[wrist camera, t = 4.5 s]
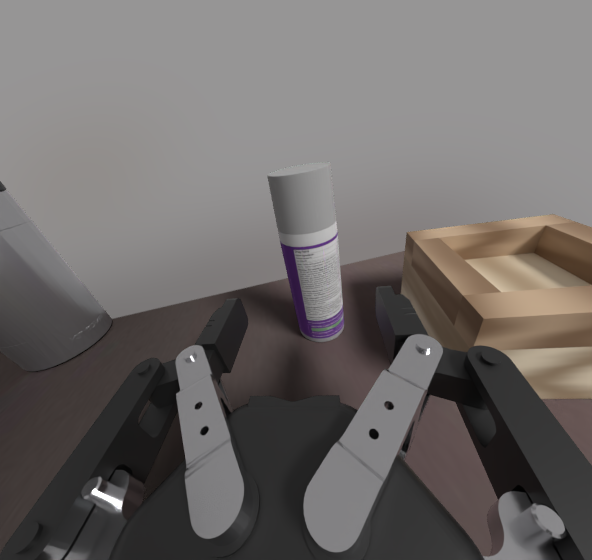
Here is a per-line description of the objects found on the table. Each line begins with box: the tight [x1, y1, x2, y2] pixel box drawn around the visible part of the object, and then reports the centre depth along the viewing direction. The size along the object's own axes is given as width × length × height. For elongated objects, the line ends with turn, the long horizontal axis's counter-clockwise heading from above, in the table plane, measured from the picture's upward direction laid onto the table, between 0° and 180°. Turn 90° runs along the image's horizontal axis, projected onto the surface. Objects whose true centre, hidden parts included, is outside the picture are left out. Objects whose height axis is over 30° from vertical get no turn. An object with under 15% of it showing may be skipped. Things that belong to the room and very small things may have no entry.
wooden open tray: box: [401, 214, 592, 399], centre depth 17 cm, size 12×12×8 cm
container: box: [267, 162, 344, 342], centre depth 20 cm, size 5×5×15 cm
